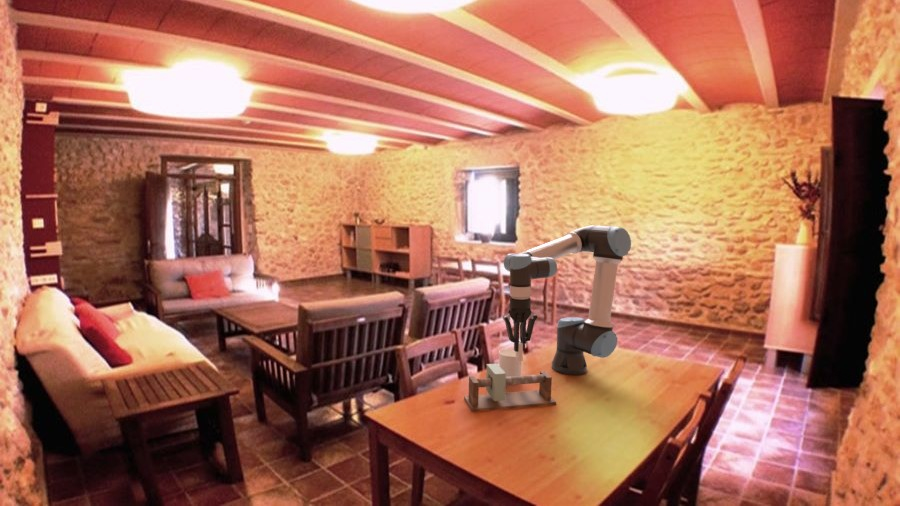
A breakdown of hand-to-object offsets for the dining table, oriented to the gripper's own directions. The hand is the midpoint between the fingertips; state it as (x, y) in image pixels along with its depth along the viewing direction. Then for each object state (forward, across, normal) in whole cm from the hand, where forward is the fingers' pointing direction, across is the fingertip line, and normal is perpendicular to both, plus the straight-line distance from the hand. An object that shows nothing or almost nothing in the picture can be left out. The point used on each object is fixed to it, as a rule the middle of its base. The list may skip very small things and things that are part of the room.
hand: (519, 359), depth 165 cm
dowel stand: (+16, +4, 0) cm, 16 cm away
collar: (+13, +9, 0) cm, 16 cm away
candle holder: (+16, -3, -19) cm, 25 cm away
